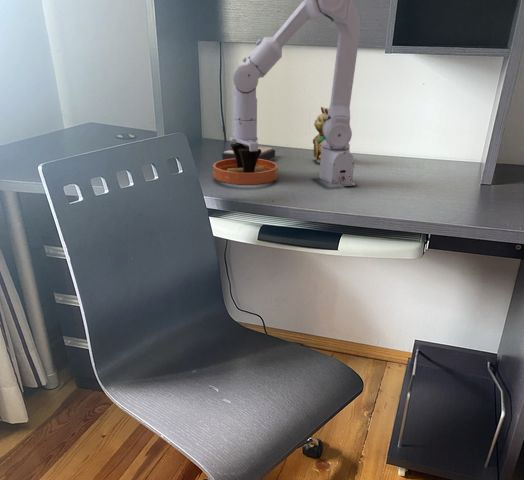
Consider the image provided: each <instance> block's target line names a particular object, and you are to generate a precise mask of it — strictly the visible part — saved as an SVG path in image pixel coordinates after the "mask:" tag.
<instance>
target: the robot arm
mask: <svg viewBox="0 0 524 480" xmlns="http://www.w3.org/2000/svg"><path fill="white" fill-rule="evenodd" d="M322 15H323V16H325V17H326V18H327V19H329V20H330V22H331V23H332V24H333V26H334V27H335V28H336V30H337V32H338V37H337V45H336V55H335V63H334V70H333V78H332V79H333V80H332V88H331V97H330V104H329V107H328V109H329V110H328V116H327V119H326V121H325V122H324V124H323V128H322V131H323V135H324V137H325V138H326V139H325V141H324V142H323V143H322V147H321V160H320V163H319V175H318V178H319V179H320V180H324V181H326V182H328V183H329V184H332V185H333V184H339V185H341V186H342V187H353V186H356V183H355V182H353V179H354V168H355V158H354V156H353V154H352V153H351V151H350V147H351V144H350V142H351V140H352V136H353V132H352V128H351V124H350V123H351V101H352V100H351V99H352V94H353V85H354V78H355V71H356V65H357V56H358V48H359V43H360V42H359V41H360V35H361V27H362V23H361V19H360V17H359V13H358V11H357V8H356V7H355V3H354V1H353V0H303V1H302V2H301V3H300V4H299V5H298V6H297V8H296V9H295V10H294V11H293V12H292V13H291V14H290V16H289V17H288V18H287V19H286V20H285V22H284V23H283V24H282V25H281V26H280V28H279V29H278V30H277V31H276V33H275V34H274V35H273V36H264V37H263V38H262V39H260V38H259V39H258V40H257V41H256V42H255V44H256V47H254V49H253V50H251V52H250V53H249V54H248V55H247V57H246V56H244V57H243V58H242V59H241V61H242V63H243V64H241V65H239V66H238V67H237V68H236V69H235V71H234V73H233V79H232V80H233V84H234V91H233V95H234V98H233V137H229V141H230V142H234V143H231V144H230V149H232V150H233V152H234V155H235V158H236V163H237V168H243V172H244V173H254V171H255V166H256V163H257V160H258V158H259V156H260V154H261V150H260V149H258V147H259V142H258V98H257V87H258V85H259V79H261V78H264V77H265V76H266V75H267V74H268V73H269V72H270V71H271V70H272V68H273V67H274V66H275V65H276V64H278V62H279V60H280V59H281V58H282V56H283V47H284V46H286V44H287V43H288V42H289V41H290V40H291V39H292V38H293V37H294V36H295V35H296V34H297V32H298V31H299V30H300V29H302V27H303V26H304V25H305V24H306V23H307V22H309V21H311V20H314V19H317V18H319V17H322Z"/></svg>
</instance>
